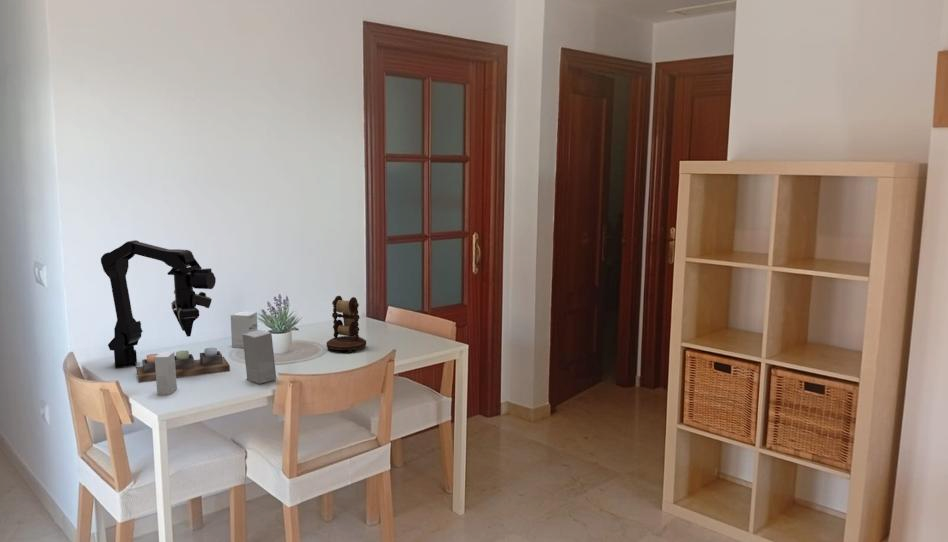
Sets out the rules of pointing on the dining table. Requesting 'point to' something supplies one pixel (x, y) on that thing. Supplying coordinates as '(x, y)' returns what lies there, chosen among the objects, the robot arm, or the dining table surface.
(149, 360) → the terracotta button
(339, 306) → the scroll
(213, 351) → the slate button
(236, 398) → the dining table surface
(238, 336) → the supplement box
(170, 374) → the skincare box
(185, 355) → the sage button
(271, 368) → the skincare box
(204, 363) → the button panel
